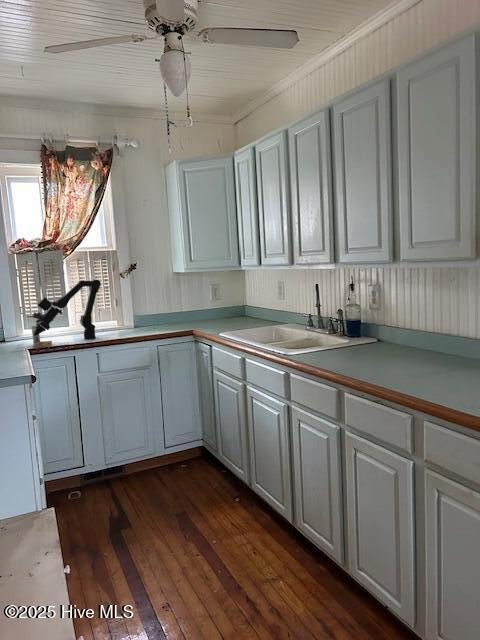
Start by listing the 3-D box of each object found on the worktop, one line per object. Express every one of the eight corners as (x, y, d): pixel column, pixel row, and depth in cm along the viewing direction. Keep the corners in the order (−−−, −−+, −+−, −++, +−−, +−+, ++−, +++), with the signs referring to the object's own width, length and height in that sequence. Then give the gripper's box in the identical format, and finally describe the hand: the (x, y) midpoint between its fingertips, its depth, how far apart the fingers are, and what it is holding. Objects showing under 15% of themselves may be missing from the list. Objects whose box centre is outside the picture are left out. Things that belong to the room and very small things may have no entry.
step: (52, 344, 299) (51, 340, 299) (49, 347, 290) (48, 343, 290) (36, 345, 297) (36, 342, 297) (33, 348, 289) (32, 344, 288)
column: (41, 344, 303) (39, 325, 302) (39, 345, 299) (37, 326, 297) (34, 344, 302) (32, 325, 301) (32, 345, 298) (30, 326, 297)
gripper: (37, 306, 308) (20, 325, 304) (42, 308, 292) (24, 328, 288) (51, 317, 313) (35, 336, 309) (57, 319, 297) (39, 339, 293)
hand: (33, 334), depth 299 cm, fingers closed on column, 4 cm apart
